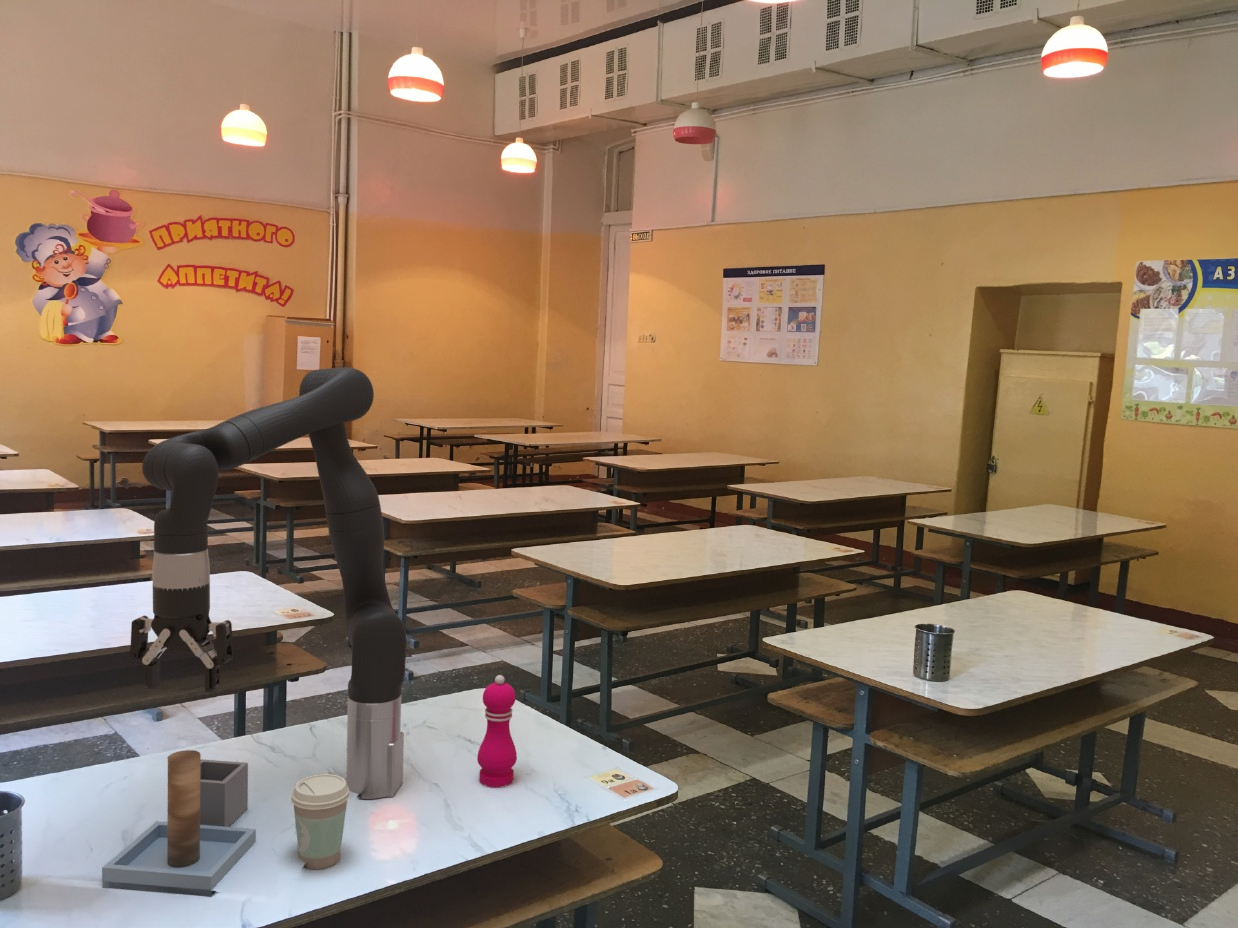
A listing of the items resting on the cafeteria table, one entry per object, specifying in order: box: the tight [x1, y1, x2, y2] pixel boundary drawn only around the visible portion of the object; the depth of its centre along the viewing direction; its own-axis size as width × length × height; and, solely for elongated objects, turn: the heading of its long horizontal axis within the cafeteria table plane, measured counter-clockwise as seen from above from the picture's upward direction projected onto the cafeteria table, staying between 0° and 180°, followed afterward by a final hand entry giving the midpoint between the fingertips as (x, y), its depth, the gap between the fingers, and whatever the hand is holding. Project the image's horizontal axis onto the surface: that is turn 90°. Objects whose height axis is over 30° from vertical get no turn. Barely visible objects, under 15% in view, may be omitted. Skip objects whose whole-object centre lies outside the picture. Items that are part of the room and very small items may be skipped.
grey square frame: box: [200, 758, 249, 827], centre depth 154 cm, size 8×8×9 cm
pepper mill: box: [476, 674, 518, 788], centre depth 175 cm, size 7×7×20 cm
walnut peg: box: [167, 749, 202, 868], centre depth 141 cm, size 4×4×16 cm
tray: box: [101, 820, 257, 898], centre depth 141 cm, size 16×14×3 cm
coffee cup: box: [290, 773, 351, 870], centre depth 145 cm, size 8×8×12 cm
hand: (182, 689), depth 139 cm, fingers open, 8 cm apart
